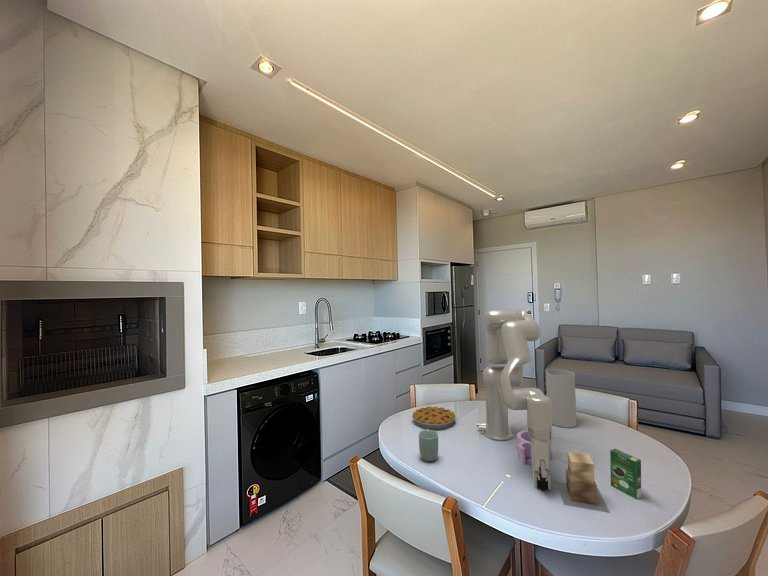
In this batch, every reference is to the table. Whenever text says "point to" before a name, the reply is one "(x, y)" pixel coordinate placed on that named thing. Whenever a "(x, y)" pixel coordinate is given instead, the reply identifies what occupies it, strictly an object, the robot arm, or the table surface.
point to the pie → (433, 418)
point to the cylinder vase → (562, 397)
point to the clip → (526, 446)
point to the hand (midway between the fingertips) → (541, 485)
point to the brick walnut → (581, 491)
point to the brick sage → (535, 476)
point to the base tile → (567, 501)
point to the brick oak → (580, 468)
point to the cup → (428, 445)
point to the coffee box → (625, 473)
